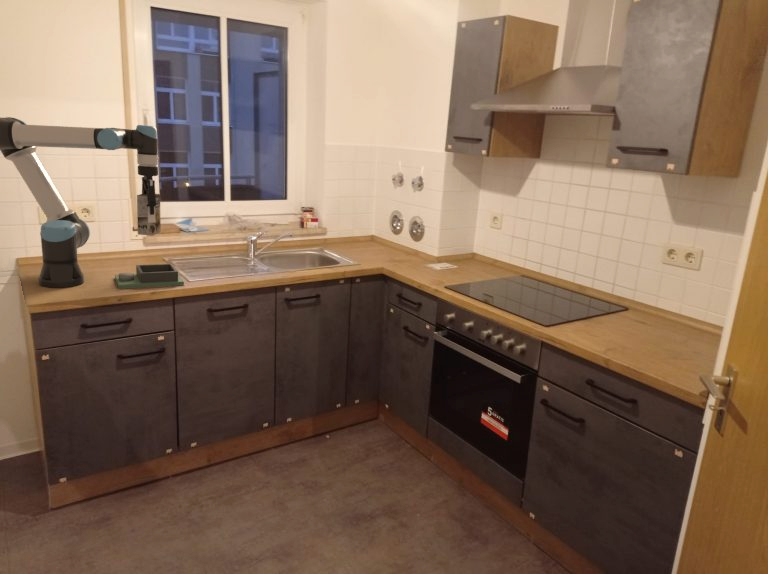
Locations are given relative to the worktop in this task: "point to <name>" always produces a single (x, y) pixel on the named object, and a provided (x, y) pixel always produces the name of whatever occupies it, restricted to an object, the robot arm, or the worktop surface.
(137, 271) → the deck
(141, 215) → the coffee box
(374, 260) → the worktop surface
